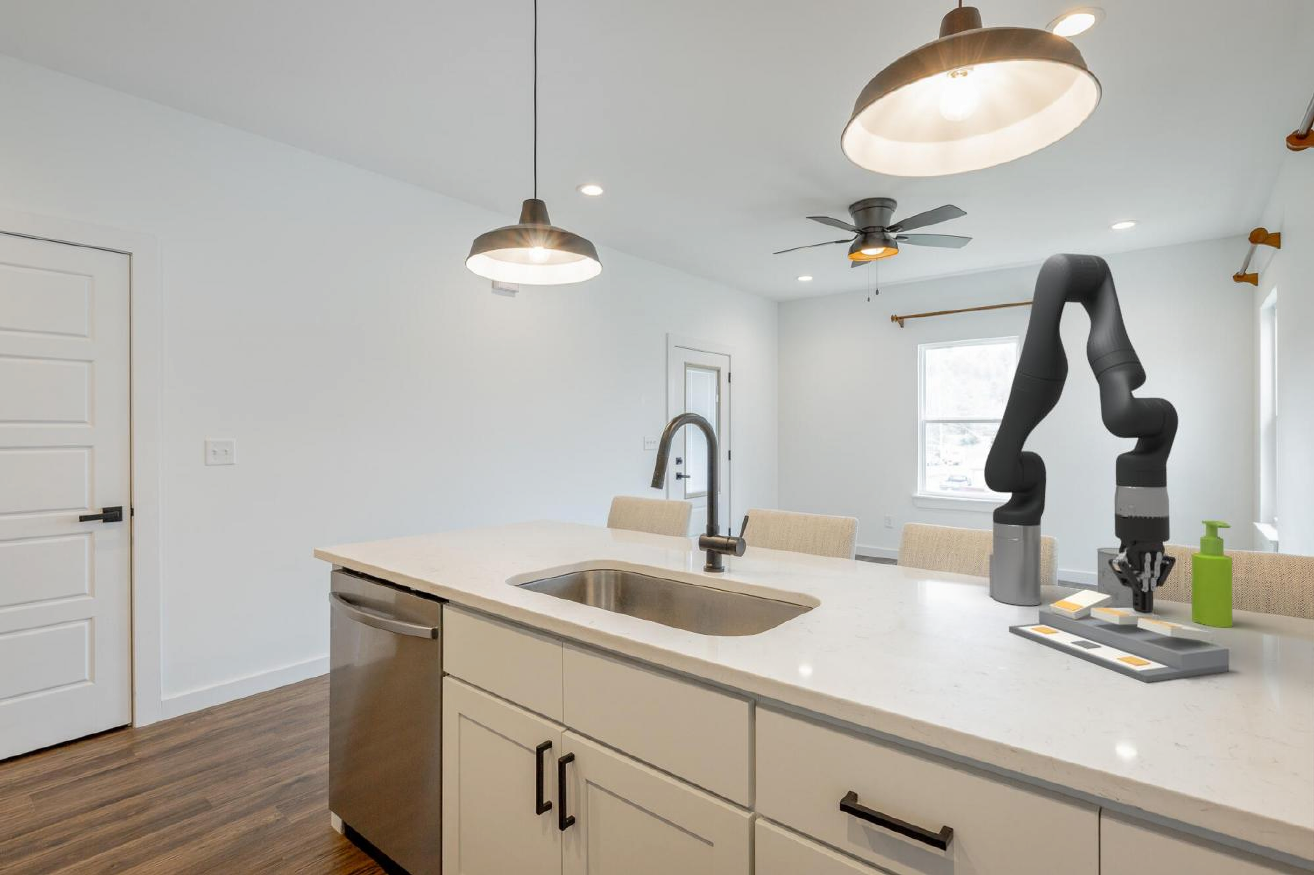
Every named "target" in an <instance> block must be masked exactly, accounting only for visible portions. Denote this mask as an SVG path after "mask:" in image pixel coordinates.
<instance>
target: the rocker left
mask: <svg viewBox="0 0 1314 875" xmlns="http://www.w3.org/2000/svg"><path fill="white" fill-rule="evenodd" d="M1112 603H1113V602H1112V597H1111V596H1110V595H1106V594H1102V593H1098V591H1094V590H1090V589H1083V590H1082V591H1079V592H1077V593H1074V594H1072V595H1069V596H1067V597H1065V598H1063V599H1061V600H1058V601H1055V602H1053V603H1050V604H1049V609H1050V610H1051V612H1052V613H1055V614H1059V615H1062V616H1065V617H1068V618H1072V619H1075V620H1076V619H1078V618H1081V617H1083V616H1085V615H1087V614H1090V613H1091V608H1103V607H1105V606H1107V605H1110V604H1112Z"/></svg>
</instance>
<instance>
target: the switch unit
mask: <svg viewBox="0 0 1314 875" xmlns="http://www.w3.org/2000/svg"><path fill="white" fill-rule="evenodd" d="M1137 625H1138V624H1120V625H1119V624H1115V623H1112V622H1109V621H1105V620H1102V619H1098V618H1095V617H1092V616H1091V613H1090V614H1087V615H1085V616H1083V617H1081V618H1078V619H1076V620H1075V619H1072V618H1068V617H1065V616H1062V615H1059V614H1055V613H1052V612H1051V610H1050V608H1049V609H1048V608H1047V609H1040V610H1038V623H1030V624H1029V623H1028V624H1020V625H1010V626H1008V632H1009V633H1012V634H1015V635H1017V636H1020V637H1023V638H1025V639H1027V640H1029V641H1030V640H1031V641H1032V642H1036V643H1038V644H1041V645H1044V646H1047V647H1049V648H1052V649H1055V650H1057V651H1059V652H1063V653H1065V654H1068V655H1070V656H1074V657H1077V658H1079V659H1082V660H1084V661H1087V662H1090V663H1091V664H1095V665H1098V666H1101V667H1103V668H1106V669H1108V670H1111V671H1113V672H1117V673H1119V674H1122V675H1125V676H1127V677H1130V678H1133V679H1135V680H1138V681H1141V682H1143V683H1153V682H1159V681H1168V679H1169V680H1175V679H1181V678H1182V679H1183V678H1188V677H1196V676H1203V675H1210V674H1217V673H1225V672H1229V671H1230V649H1229V648H1228V647H1225V646H1222V645H1218V644H1214V643H1210V642H1208V641H1204V640H1195V639H1187V638H1179V637H1171V636H1167V635H1163V634H1160V633H1157V632H1153V631H1150V630H1146V629H1143V628H1139V627H1137Z"/></svg>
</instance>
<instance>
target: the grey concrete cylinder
mask: <svg viewBox="0 0 1314 875" xmlns="http://www.w3.org/2000/svg"><path fill="white" fill-rule="evenodd" d="M1119 548H1120V547H1098V548H1097V549H1096V551H1097V592H1098V593H1102V594H1106V595H1110V596H1111V597H1112V602H1113V603H1112V604H1110V605H1107V606H1105V607H1103V608H1133V593H1132V589H1131V588H1129V587H1126V586H1123V585H1122V584H1121V582H1120V581H1119V579H1118V578H1117V576H1116V575H1115V573H1114V572H1113V570H1112V568H1111V567H1110V565H1109V564H1108V561H1109V559H1116V558H1117V557H1118V556H1119V555H1120V553H1119ZM1136 578H1137V577H1136ZM1133 609H1134V608H1133ZM1151 613H1152V614H1155V612H1154V611H1153V612H1151Z"/></svg>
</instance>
